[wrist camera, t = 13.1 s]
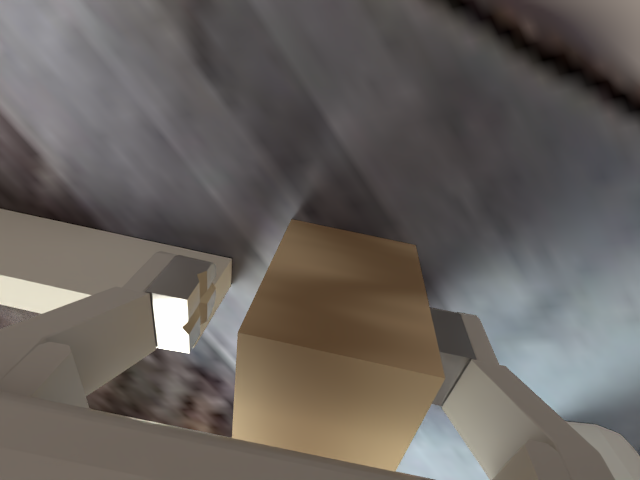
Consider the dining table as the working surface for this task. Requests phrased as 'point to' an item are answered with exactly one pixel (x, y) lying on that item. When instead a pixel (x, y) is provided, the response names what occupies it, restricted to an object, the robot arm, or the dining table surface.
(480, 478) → the dining table surface
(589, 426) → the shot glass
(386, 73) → the dining table surface
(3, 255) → the frame
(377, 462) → the oak block
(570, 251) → the dining table surface
